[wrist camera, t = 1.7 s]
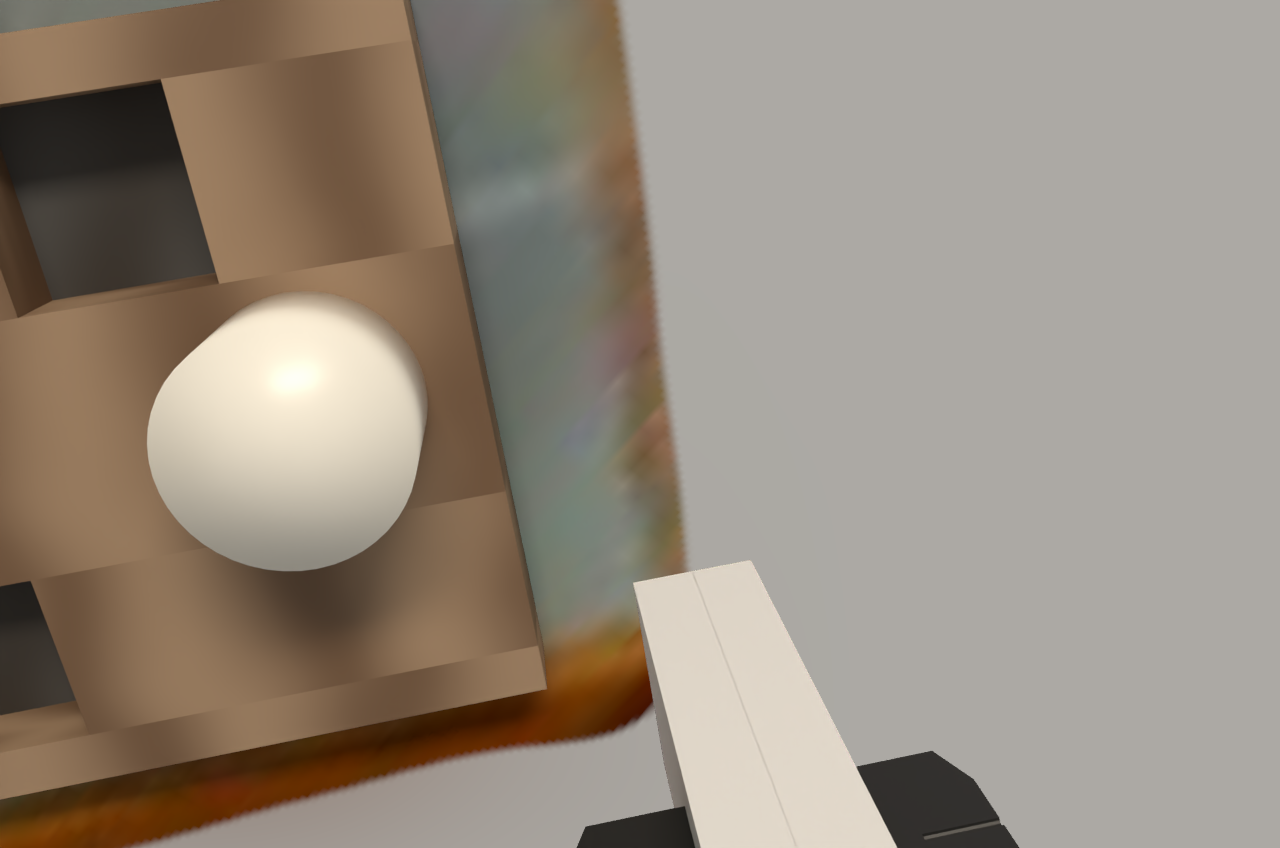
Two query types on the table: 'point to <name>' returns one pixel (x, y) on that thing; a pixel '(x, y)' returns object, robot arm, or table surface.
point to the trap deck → (174, 327)
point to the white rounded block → (291, 432)
